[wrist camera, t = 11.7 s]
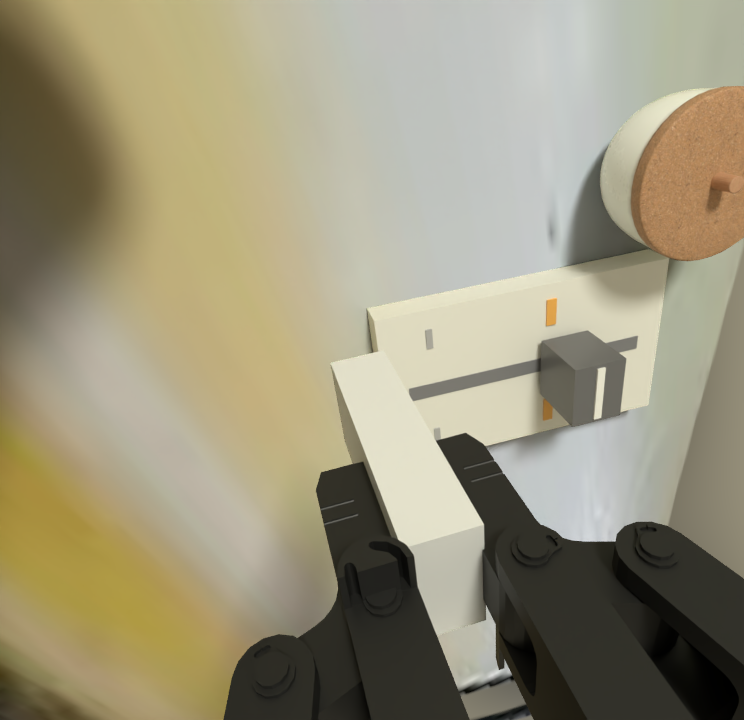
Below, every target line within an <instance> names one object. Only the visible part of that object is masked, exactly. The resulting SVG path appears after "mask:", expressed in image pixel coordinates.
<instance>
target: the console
mask: <svg viewBox="0 0 744 720" xmlns="http://www.w3.org/2000/svg"><path fill="white" fill-rule="evenodd" d="M668 264H669V258H668V257H665V256H663V255H661V254H659V253H656V252H654V251H652V250H649V249H647V250H642V251H637V252H633V253H628V254H623V255H618V256H613V257H609V258H604V259H599V260H594V261H590V262H585V263H580V264H575V265H571V266H566V267H561V268H556V269H552V270H547V271H542V272H537V273H533V274H528V275H523V276H518V277H513V278H509V279H504V280H499V281H494V282H490V283H485V284H480V285H475V286H471V287H466V288H461V289H456V290H452V291H447V292H442V293H437V294H433V295H428V296H423V297H418V298H413V299H409V300H404V301H399V302H394V303H390V304H385V305H380V306H375V307H371V308H367V313H368V320H369V327H370V334H371V341H372V348H373V353H374V352H379V351H383V350H384V352H385V354H386V355H387V357H388V359H389V361H390V362H391V364H392V366H393V368H394V369H395V371H396V373H397V375H398V376H399V378H400V380H401V381H402V383H403V385H404V387H405V388H406V390H407V392H408V394H409V395H410V397H411V399H412V401H413V402H414V404H415V406H416V407H417V409H418V411H419V413H420V414H421V416H422V418H423V420H424V421H425V423H426V425H427V427H428V428H429V430H430V432H431V434H432V435H433V437H434V439H435V440H440V439H444V438H448V437H451V436H455V435H459V434H463V433H467V434H469V435H470V436H472V437H473V438H475V439H477V440H478V441H480V442H481V443H483V444H484V446H488V445H492V444H496V443H500V442H504V441H508V440H512V439H516V438H520V437H524V436H528V435H532V434H536V433H539V432H543V431H547V430H551V429H555V428H559V427H563V426H567V425H570V424H569V423H568V422H567V421H566V420H565V419H564V418H563V417H562V416H561V415H560V414H559V413H558V412H557V411H556V410H555V409H554V408H553V407H552V406H551V405H550V403H549V402H548V401H547V400H546V399H545V398H544V397H543V396H542V395H541V394H540V376H541V341H543V340H547V339H552V338H556V337H560V336H565V335H569V334H573V333H578V332H582V331H587V330H588V331H589V332H591V333H592V334H594V335H595V336H596V337H598V338H599V339H600V340H602V341H603V342H605V343H606V344H607V345H609V346H610V347H611V348H613V349H614V350H616V351H617V352H618V353H620V354H621V355H623V356H624V357H625V358H626V367H625V376H624V384H623V393H622V402H621V411H620V412H623V411H627V410H631V409H635V408H639V407H643V406H646V405H648V404H649V397H650V390H651V383H652V376H653V369H654V362H655V355H656V348H657V341H658V334H659V327H660V320H661V313H662V306H663V299H664V292H665V285H666V278H667V271H668Z"/></svg>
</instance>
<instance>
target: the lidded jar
mask: <svg viewBox="0 0 744 720" xmlns="http://www.w3.org/2000/svg"><path fill="white" fill-rule="evenodd" d="M600 188H601V196H602V199H603V203H604V206H605V208H606V210H607V212H608V214H609V215H610V217H611V218H612V220H613V221H614V222H615V224H616V225H617V226H618V227H619V228H620V229H621V230H623V231H624V232H625V233H626V234H627V235H629V236H630V237H631V238H633V239H634V240H636V241H638V242H640V243H641V244H643V245H645V246H647V247H649V248H651V249H652V250H654V251H656V252H658V253H659V254H661V255H663V256H665V257H668V258H671V259H675V260H681V261H693V260H700V259H704V258H708V257H711V256H713V255H715V254H718V253H720V252H722V251H724V250H726V249H727V248H729V247H731V246H732V245H734V244H735V243H736V242H738V241H739V240H741V239H742V238H743V237H744V86H730V87H720V88H698V89H691V90H686V91H681V92H677V93H673V94H670V95H667V96H664V97H662V98H659V99H657V100H655V101H653V102H651V103H650V104H648V105H646V106H645V107H643V108H641V109H640V110H639V111H637V112H636V113H635V114H634V115H632V116H631V117H630V118H629V119H628V120H627V121H626V122H625V123H624V124H623V125H622V126H621V128H620V129H619V130H618V132H617V133H616V134H615V136H614V137H613V139H612V141H611V142H610V144H609V146H608V148H607V151H606V153H605V156H604V159H603V162H602V167H601V173H600Z"/></svg>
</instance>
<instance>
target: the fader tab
mask: <svg viewBox="0 0 744 720" xmlns="http://www.w3.org/2000/svg"><path fill="white" fill-rule="evenodd" d="M625 367H626V358H625V357H624V356H623V355H621V354H620V353H618V352H617V351H616V350H614V349H613V348H611V347H610V346H609V345H607V344H606V343H605V342H603V341H602V340H600V339H599V338H598V337H596V336H595V335H594V334H592V333H591V332H589V331H588V330H587V331H582V332H578V333H573V334H569V335H565V336H560V337H556V338H552V339H547V340H543V341H541V376H540V394H541V395H542V396H543V397H544V398H545V399H546V400H547V401H548V402H549V403H550V405H551V406H552V407H553V408H554V409H555V410H556V411H557V412H558V413H559V414H560V415H561V416H562V417H563V418H564V419H565V420H566V421H567V422H568V423H569V424H570V425H571V426H572V427H574V426H578V425H582V424H586V423H590V422H594V421H598V420H602V419H606V418H610V417H614V416H618V415H620V411H621V402H622V393H623V384H624V376H625Z"/></svg>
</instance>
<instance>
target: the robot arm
mask: <svg viewBox="0 0 744 720" xmlns="http://www.w3.org/2000/svg"><path fill="white" fill-rule="evenodd" d="M331 369H332V374H333V379H334V385H335V390H336V395H337V401H338V406H339V412H340V417H341V422H342V428H343V433H344V439H345V443H346V445H347V448H348V451H349V454H350V457H351V460H352V463H353V464H351V465H347V466H344V467H340V468H336V469H332V470H329V471H325V472H321V475H320V478H319V482H318V485H317V488H316V493H317V497H318V501H319V505H320V510H321V514H322V518H323V522H324V527H325V531H326V535H327V539H328V544H329V548H330V552H331V556H332V560H333V564H334V569H335V573H336V577H337V581H338V593H337V598H336V601H335V603H334V605H333V607H332V609H331V611H330V612H329V613H328V615H327V616H326V617H325V618H324V619H323V620H322V621H321V622H320V623H319V624H317V625H316V626H315V627H313V628H312V629H311V630H309V631H308V632H306V633H305V634H303V635H302V636H300V637H299V638H296V637H294V636H289V635H280V634H278V635H275V636H271V637H267V638H264V639H262V640H261V641H259V642H258V643H256V644H254V645H253V646H251V647H250V648H249V649H248V650H247V651H246V653H245V654H244V655H243V656H242V658H241V659H240V660H239V661H238V664H237V666H236V669H235V671H234V674H233V676H232V680H231V685H230V690H229V695H228V700H227V705H226V710H225V715H224V720H470V719H469V717H468V714H467V712H466V709H465V707H464V704H463V702H462V699H461V696H460V694H459V691H458V689H457V686H456V684H455V681H454V678H453V676H452V673H451V671H450V668H449V666H448V663H447V661H446V658H445V655H444V653H443V650H442V648H441V645H440V643H439V640H438V637H437V635H441V634H444V633H447V632H450V631H453V630H456V629H459V628H462V627H465V626H468V625H472V624H475V623H478V622H481V621H484V620H486V605H487V607H488V609H489V611H490V613H491V616H492V618H493V620H494V622H495V624H496V660H497V664H498V668H499V670H500V669H503V668H504V659H505V661H506V663H507V665H508V667H509V669H510V671H511V673H512V675H513V677H514V679H515V682H516V683H517V686H518V688H519V690H520V692H521V694H522V696H523V698H524V700H525V702H526V704H527V707H528V709H529V711H530V713H531V715H532V717H533V719H534V720H744V579H743V578H742V577H741V576H739V575H738V574H736V573H735V572H734V571H732V570H731V569H729V568H728V567H727V566H725V565H724V564H723V563H721V562H720V561H718V560H717V559H716V558H714V557H713V556H711V555H710V554H709V553H707V552H706V551H705V550H703V549H702V548H700V547H699V546H698V545H696V544H695V543H693V542H692V541H691V540H689V539H688V538H687V537H685V536H684V535H682V534H681V533H679V532H677V531H675V530H673V529H672V528H670V527H668V526H665V525H662V524H658V523H654V522H635V523H632V524H629V525H627V526H624V527H623V528H622V530H621V531H620V532H619V533H618V534H617V537H616V542H582V541H572V540H568V539H564V538H562V537H561V536H560V535H559V534H558V533H557V532H556V531H554V530H552V529H550V528H548V527H546V526H543V525H540V524H539V523H538V521H537V520H536V519H535V518H534V516H533V515H532V513H531V512H530V511H529V509H528V508H527V506H526V505H525V503H524V502H523V500H522V499H521V498H520V496H519V495H518V493H517V492H516V490H515V489H514V487H513V486H512V485H511V483H510V482H509V480H508V479H507V477H506V476H505V474H503V473H502V470H501V469H500V467H499V466H498V464H497V463H496V462H494V459H493V457H492V456H491V454H490V453H489V451H488V450H487V448H486V447H485V446H484V444H483V443H481V442H480V441H478V440H477V439H475V438H473V437H472V436H470V435H469V434H467V433H463V434H459V435H455V436H451V437H448V438H444V439H440V440H435V439H434V437H433V435H432V434H431V432H430V430H429V428H428V427H427V425H426V423H425V421H424V420H423V418H422V416H421V414H420V413H419V411H418V409H417V407H416V406H415V404H414V402H413V401H412V399H411V397H410V395H409V394H408V392H407V390H406V388H405V387H404V385H403V383H402V381H401V380H400V378H399V376H398V375H397V373H396V371H395V369H394V368H393V366H392V364H391V362H390V361H389V359H388V357H387V355H386V354H385V352H384V350H383V351H379V352H374V353H370V354H366V355H362V356H357V357H353V358H349V359H344V360H340V361H336V362H332V363H331Z"/></svg>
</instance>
